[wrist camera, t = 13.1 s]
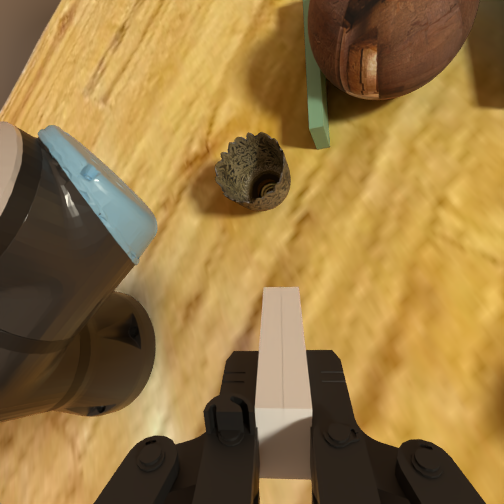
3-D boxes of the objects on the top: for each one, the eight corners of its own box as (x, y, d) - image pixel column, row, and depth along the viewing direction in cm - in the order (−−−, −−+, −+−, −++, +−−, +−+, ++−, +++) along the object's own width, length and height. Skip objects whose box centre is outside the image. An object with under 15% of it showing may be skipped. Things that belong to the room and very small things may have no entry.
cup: (234, 185, 44) (204, 156, 37) (286, 154, 43) (265, 117, 36) (257, 235, 42) (229, 215, 35) (313, 204, 40) (296, 176, 33)
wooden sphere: (380, -7, 43) (376, -166, 29) (496, 42, 37) (559, -130, 23) (296, 89, 44) (255, -20, 31) (395, 152, 38) (399, 51, 25)
